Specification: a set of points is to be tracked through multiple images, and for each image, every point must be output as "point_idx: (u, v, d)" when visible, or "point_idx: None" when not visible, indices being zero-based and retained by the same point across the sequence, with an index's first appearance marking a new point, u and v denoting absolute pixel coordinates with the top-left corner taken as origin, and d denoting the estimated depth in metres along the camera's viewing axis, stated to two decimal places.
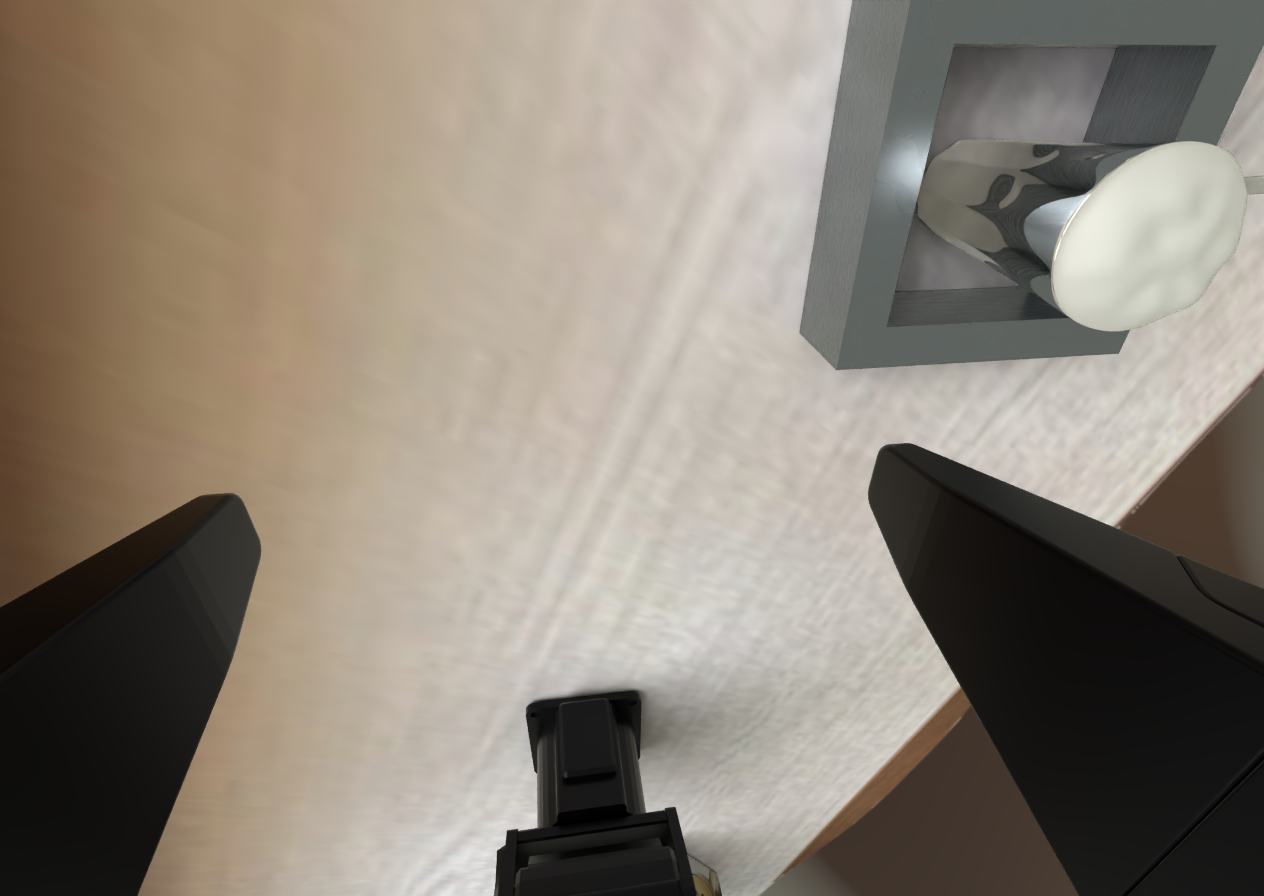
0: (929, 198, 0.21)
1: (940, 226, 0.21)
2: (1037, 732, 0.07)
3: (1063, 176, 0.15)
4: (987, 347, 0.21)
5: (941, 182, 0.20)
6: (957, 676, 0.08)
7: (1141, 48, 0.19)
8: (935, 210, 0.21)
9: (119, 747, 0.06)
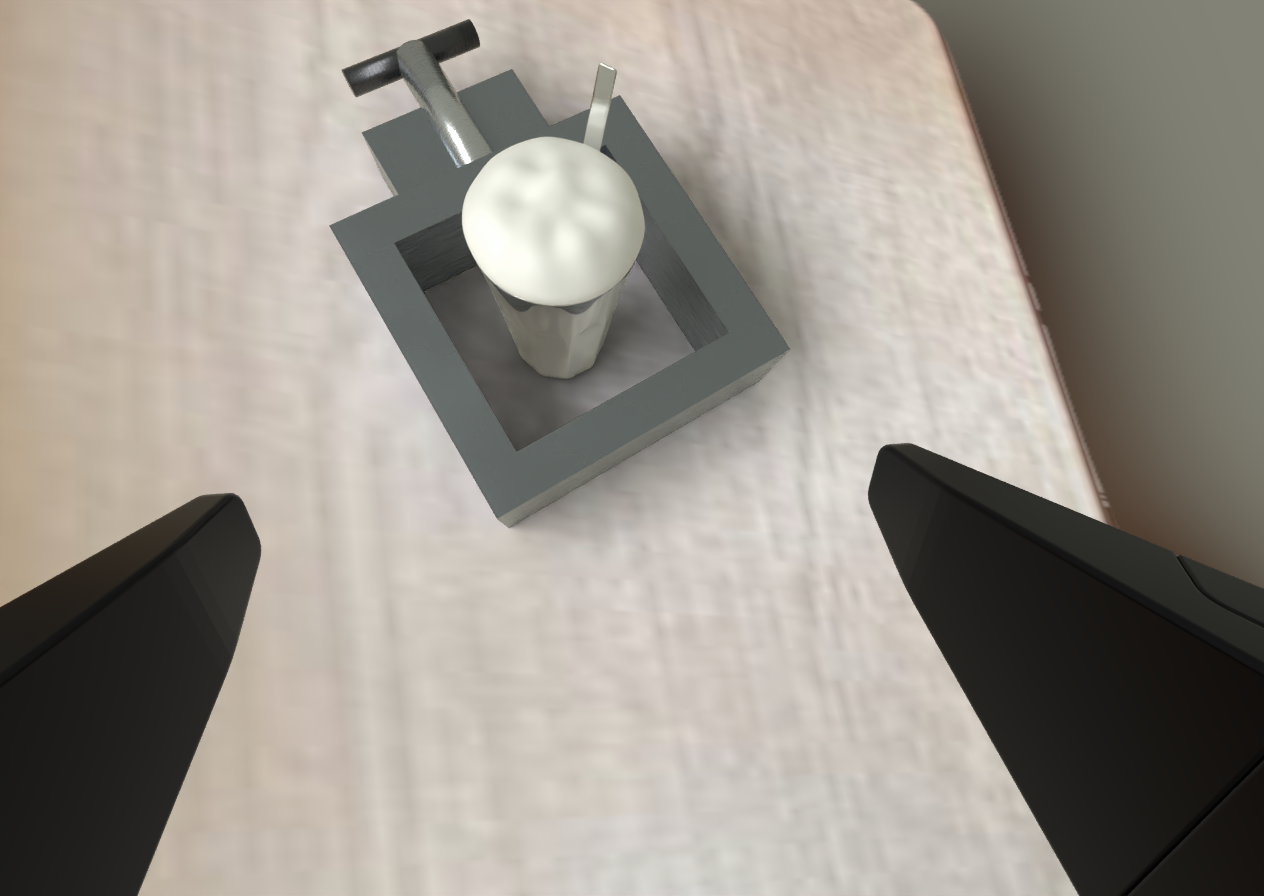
0: (522, 353, 0.22)
1: (535, 361, 0.21)
2: (1037, 732, 0.07)
3: None
4: (643, 414, 0.19)
5: None
6: (957, 676, 0.08)
7: None
8: (527, 356, 0.21)
9: (119, 747, 0.06)
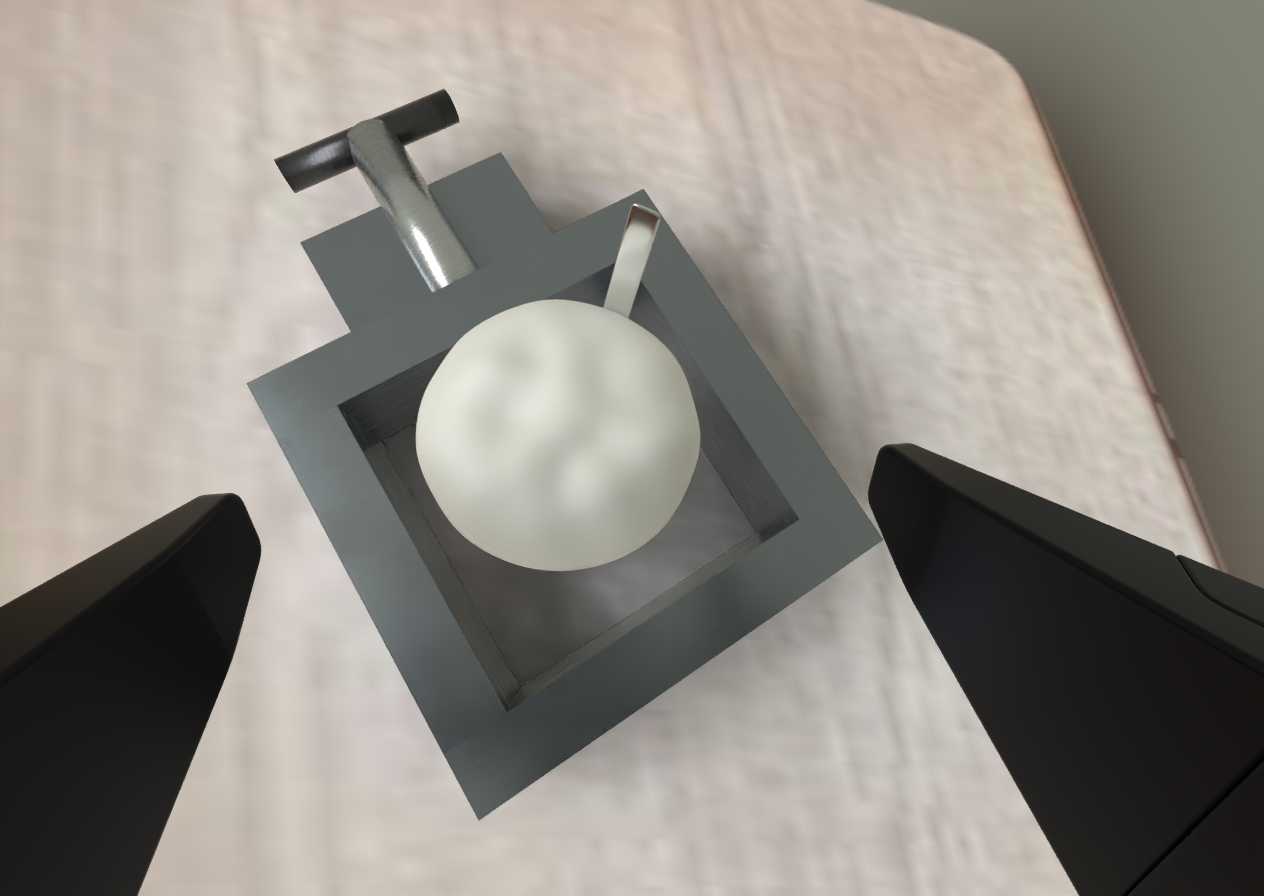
0: None
1: None
2: (1037, 732, 0.07)
3: None
4: (686, 646, 0.14)
5: None
6: (957, 677, 0.08)
7: None
8: None
9: (119, 747, 0.06)
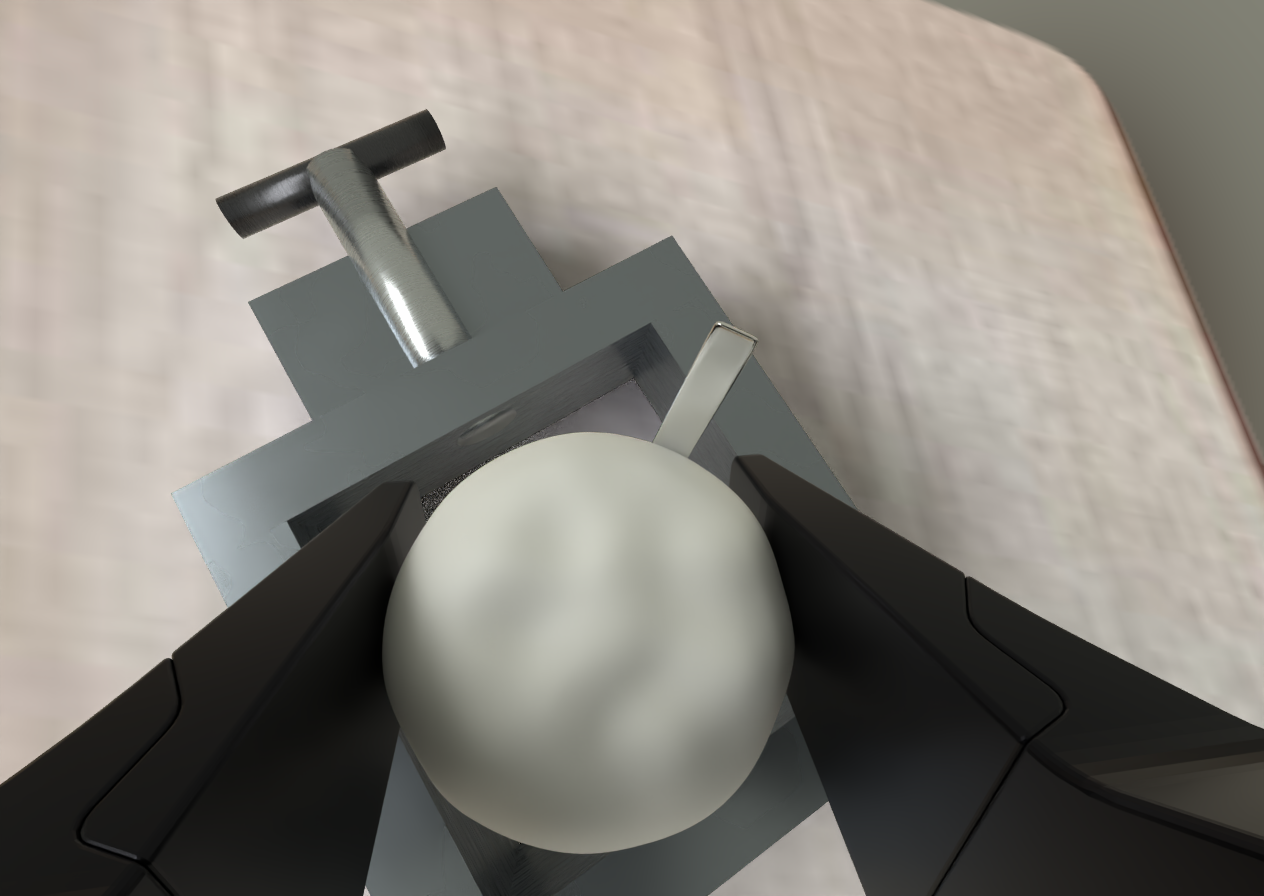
0: None
1: None
2: (842, 759, 0.06)
3: None
4: (731, 835, 0.11)
5: None
6: (789, 697, 0.07)
7: (638, 366, 0.15)
8: None
9: (360, 719, 0.06)
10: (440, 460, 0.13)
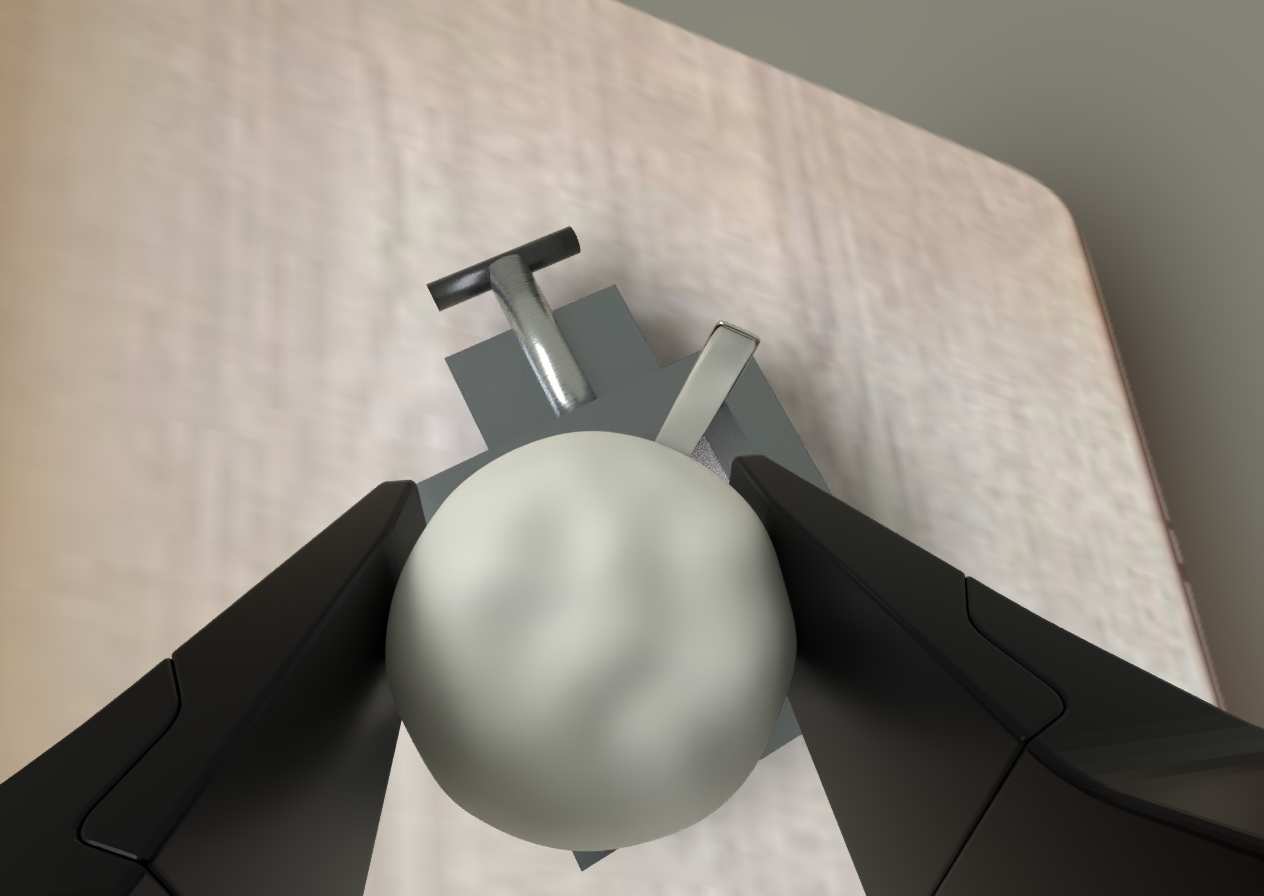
0: None
1: None
2: (843, 759, 0.06)
3: None
4: None
5: None
6: (788, 697, 0.07)
7: None
8: None
9: (360, 719, 0.06)
10: None
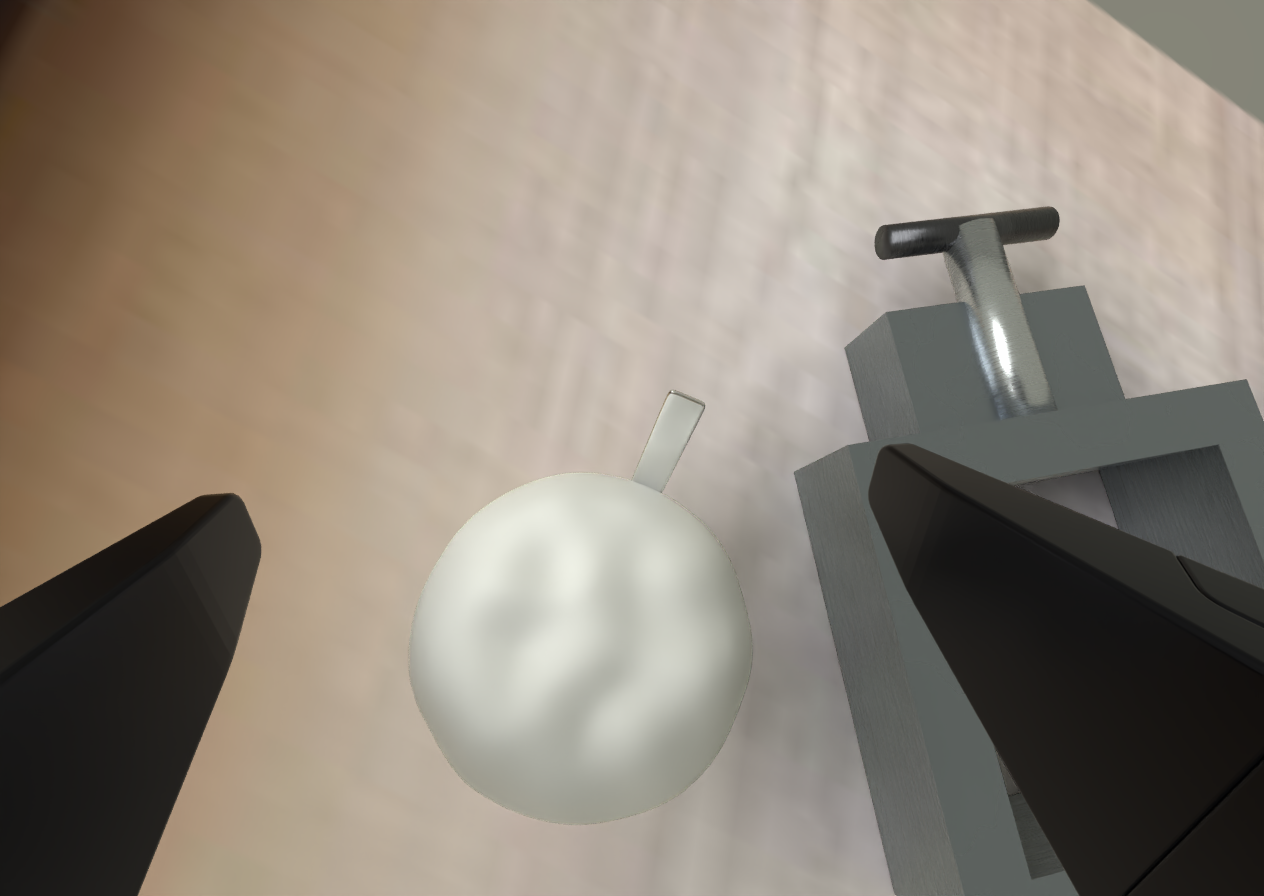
0: None
1: None
2: (1037, 732, 0.07)
3: None
4: None
5: None
6: (956, 676, 0.08)
7: (1128, 464, 0.17)
8: None
9: (119, 747, 0.06)
10: None
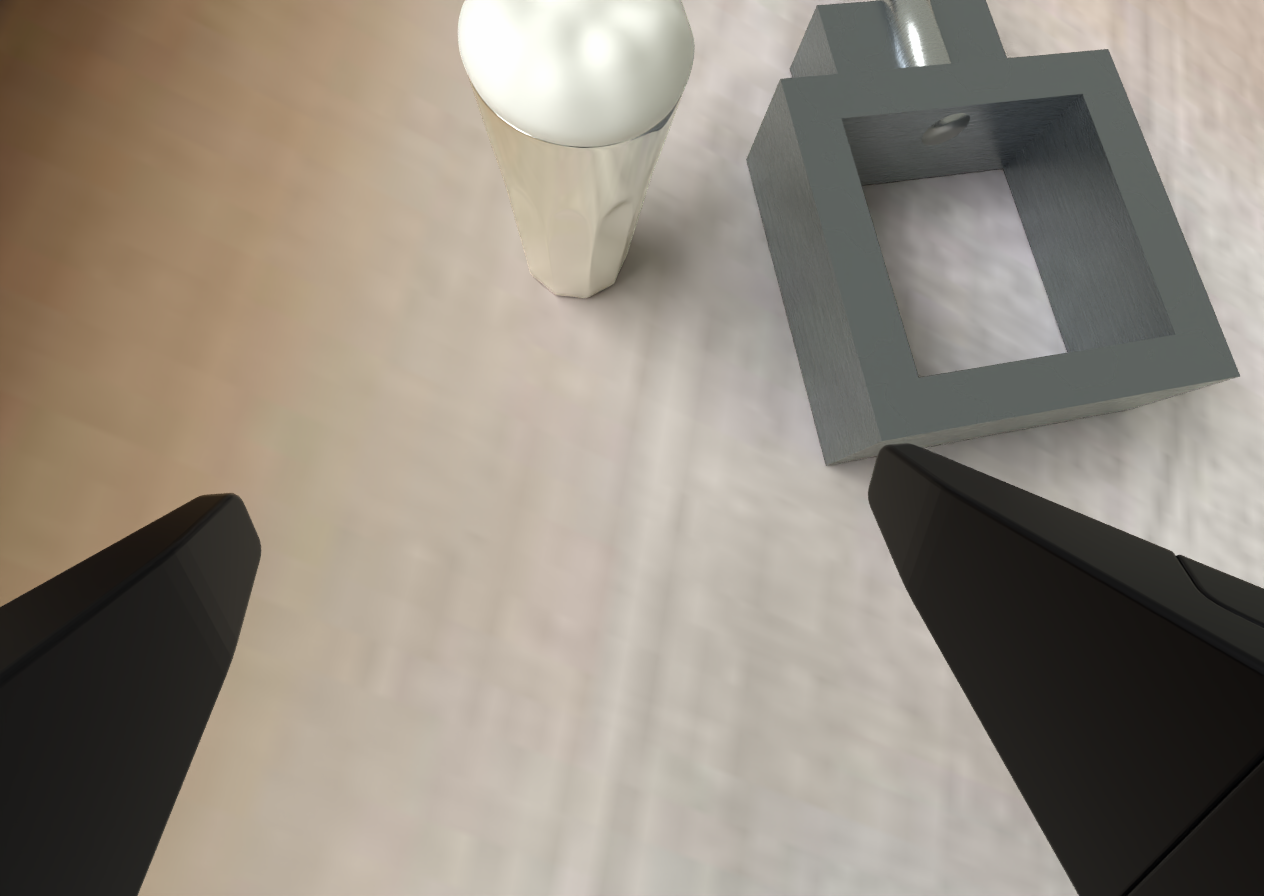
0: (531, 265, 0.18)
1: (549, 270, 0.18)
2: (1037, 732, 0.07)
3: None
4: (1064, 388, 0.16)
5: None
6: (956, 676, 0.08)
7: (1022, 150, 0.21)
8: (538, 265, 0.18)
9: (119, 747, 0.06)
10: (902, 143, 0.19)
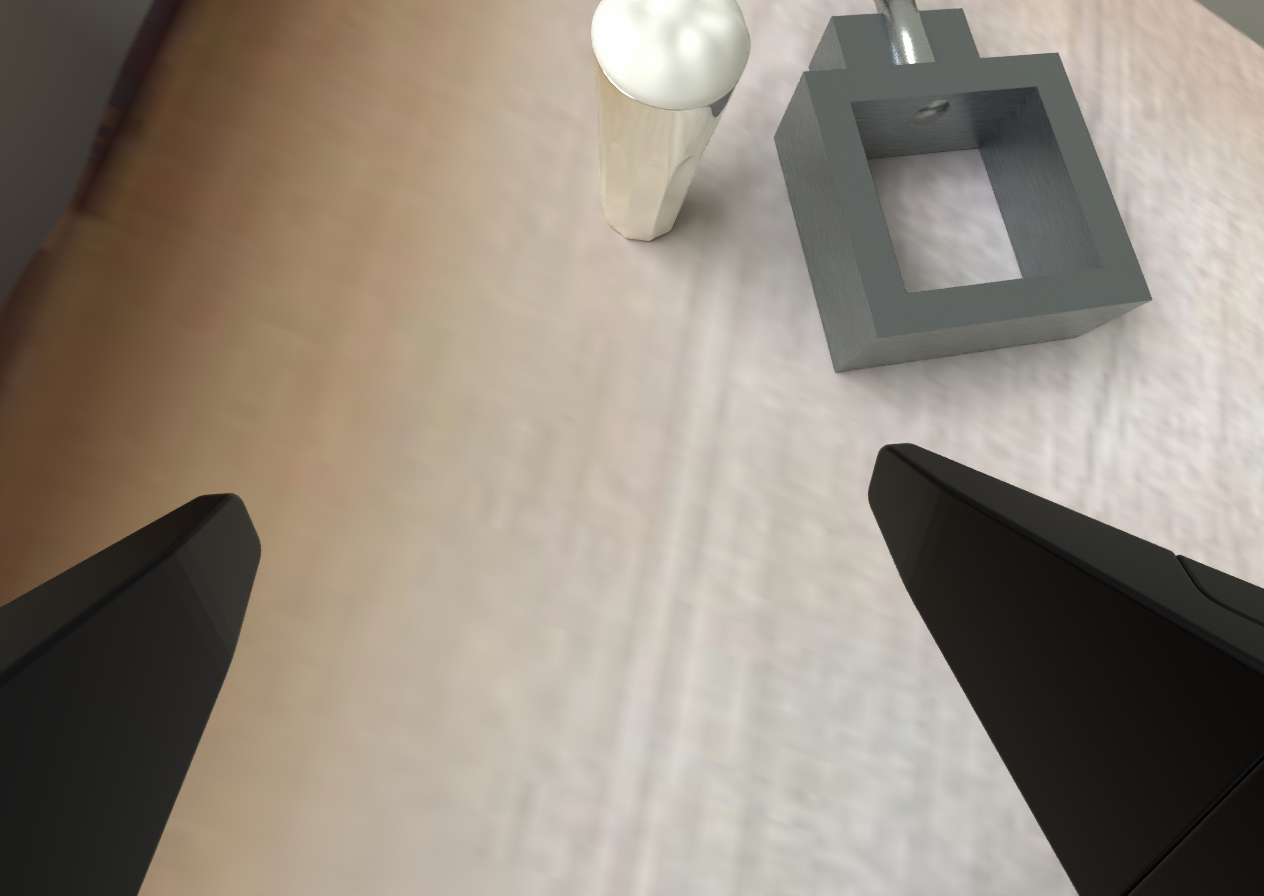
0: (610, 212, 0.24)
1: (625, 214, 0.23)
2: (1037, 732, 0.07)
3: None
4: (1016, 304, 0.22)
5: (604, 195, 0.24)
6: (957, 677, 0.08)
7: (993, 132, 0.27)
8: (616, 212, 0.23)
9: (119, 747, 0.06)
10: (897, 123, 0.25)
